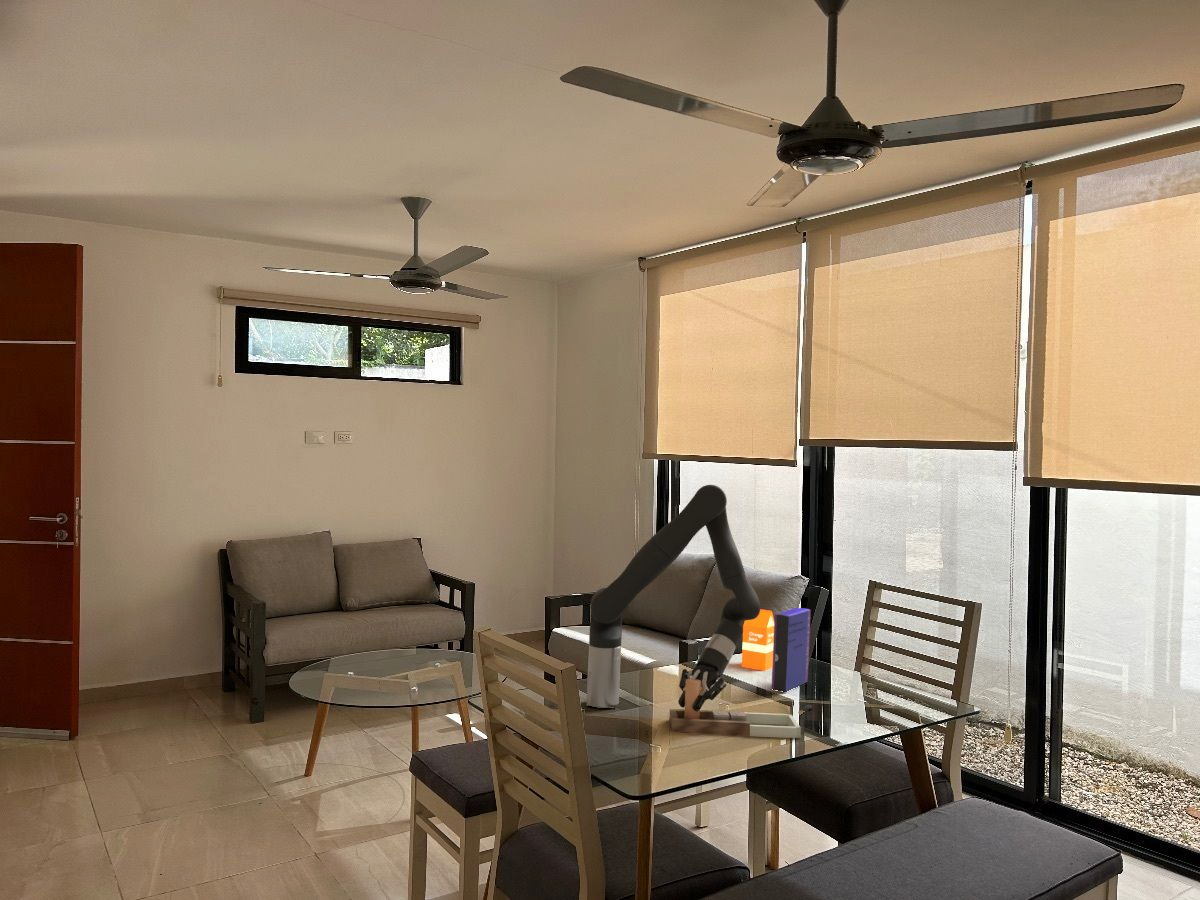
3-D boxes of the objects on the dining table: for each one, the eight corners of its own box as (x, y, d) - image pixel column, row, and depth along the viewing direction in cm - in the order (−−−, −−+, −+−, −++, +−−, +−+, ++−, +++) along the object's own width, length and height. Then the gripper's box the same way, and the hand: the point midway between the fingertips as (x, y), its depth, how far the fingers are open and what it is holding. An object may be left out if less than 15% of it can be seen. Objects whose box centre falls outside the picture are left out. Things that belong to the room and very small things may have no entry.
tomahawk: (799, 732, 244) (799, 728, 244) (776, 725, 248) (777, 721, 247) (827, 713, 261) (827, 710, 261) (805, 707, 265) (806, 703, 265)
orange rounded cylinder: (684, 727, 236) (686, 682, 236) (683, 723, 240) (685, 678, 240) (699, 728, 236) (701, 682, 236) (698, 723, 240) (700, 678, 240)
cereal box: (793, 679, 296) (796, 607, 296) (807, 682, 294) (810, 609, 294) (771, 690, 282) (774, 613, 282) (785, 693, 279) (788, 615, 279)
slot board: (672, 736, 232) (673, 721, 232) (668, 722, 244) (669, 707, 244) (749, 739, 232) (750, 724, 232) (742, 725, 244) (743, 710, 244)
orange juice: (765, 670, 307) (767, 612, 307) (741, 666, 312) (743, 609, 312) (773, 666, 314) (776, 609, 314) (750, 662, 319) (752, 606, 319)
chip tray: (749, 739, 232) (750, 725, 232) (742, 725, 244) (743, 712, 244) (800, 741, 232) (800, 727, 232) (790, 727, 244) (791, 714, 244)
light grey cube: (713, 729, 236) (713, 714, 236) (711, 724, 240) (712, 710, 240) (728, 730, 236) (729, 715, 236) (726, 725, 240) (727, 710, 240)
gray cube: (730, 730, 236) (731, 715, 236) (728, 725, 240) (728, 710, 240) (745, 731, 236) (746, 715, 236) (743, 726, 240) (743, 711, 240)
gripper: (690, 642, 248) (660, 693, 240) (733, 651, 239) (703, 705, 230) (701, 658, 252) (672, 709, 243) (743, 668, 243) (715, 722, 234)
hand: (687, 707), depth 237 cm, fingers closed on orange rounded cylinder, 4 cm apart
